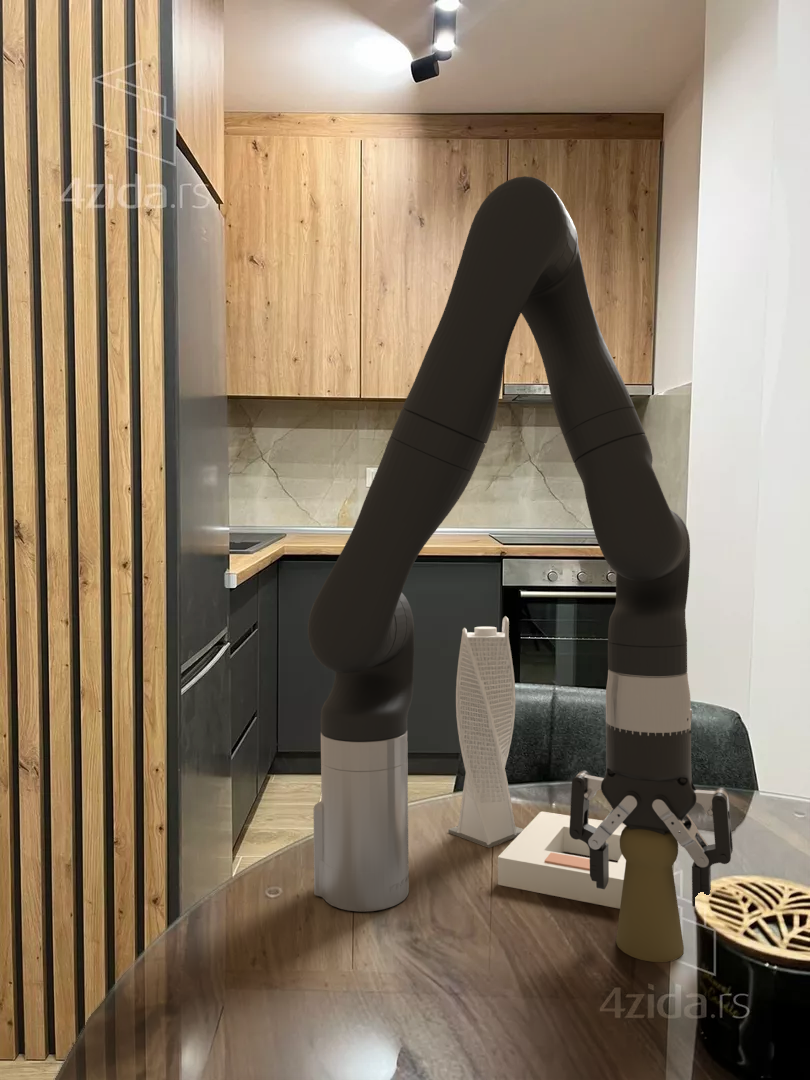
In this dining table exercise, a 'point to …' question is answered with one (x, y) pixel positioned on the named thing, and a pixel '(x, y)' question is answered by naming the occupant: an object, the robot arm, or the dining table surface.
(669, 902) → the cork
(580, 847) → the hole board
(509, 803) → the skyscraper
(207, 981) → the dining table surface
